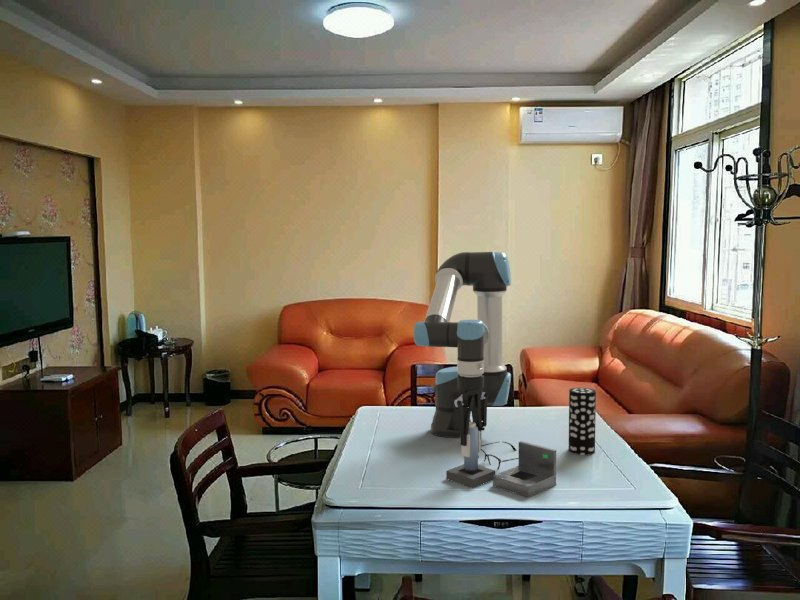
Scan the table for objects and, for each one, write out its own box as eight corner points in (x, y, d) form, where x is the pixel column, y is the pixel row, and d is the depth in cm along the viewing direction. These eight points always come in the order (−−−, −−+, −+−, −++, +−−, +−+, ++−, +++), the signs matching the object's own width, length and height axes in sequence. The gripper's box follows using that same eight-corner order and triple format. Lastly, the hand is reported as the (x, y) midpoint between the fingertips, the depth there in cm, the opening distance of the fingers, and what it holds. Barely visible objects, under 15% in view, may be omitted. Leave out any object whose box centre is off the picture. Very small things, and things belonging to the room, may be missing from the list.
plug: (461, 467, 192) (461, 423, 191) (470, 464, 195) (470, 420, 193) (471, 471, 189) (471, 426, 188) (480, 467, 192) (480, 423, 190)
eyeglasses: (472, 456, 213) (472, 444, 212) (513, 450, 219) (513, 438, 219) (500, 473, 198) (500, 459, 197) (543, 465, 204) (544, 452, 204)
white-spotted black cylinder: (596, 455, 211) (597, 393, 210) (569, 454, 213) (569, 393, 211) (593, 447, 219) (594, 388, 218) (567, 446, 221) (568, 387, 219)
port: (492, 486, 186) (492, 451, 185) (520, 474, 195) (521, 441, 194) (528, 497, 177) (528, 461, 176) (556, 484, 186) (556, 450, 185)
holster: (446, 479, 192) (446, 470, 192) (468, 470, 199) (468, 462, 198) (473, 488, 185) (473, 479, 184) (495, 478, 191) (495, 470, 191)
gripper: (460, 381, 180) (461, 464, 183) (499, 371, 192) (499, 449, 195) (440, 377, 186) (441, 458, 188) (479, 367, 198) (479, 444, 200)
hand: (471, 453), depth 191 cm, fingers closed on plug, 4 cm apart
